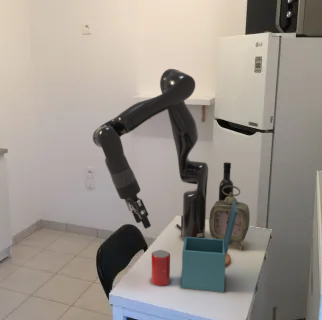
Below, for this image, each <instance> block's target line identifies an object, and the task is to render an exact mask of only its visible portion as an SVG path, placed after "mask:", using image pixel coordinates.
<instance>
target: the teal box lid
mask: <svg viewBox="0 0 322 320" xmlns="http://www.w3.org/2000/svg"><path fill="white" fill-rule="evenodd" d="M236 200H237V199H236ZM236 200H233V203H232V208H231V212H230V216H229V220H228V224H227V228H226V232H225V236H224V251H225V253H226V254H228V253H229V247H230V244H231V243H230V240H231V236H232V232H233V228H234V224H235V220H236V216H237V206H236Z"/></svg>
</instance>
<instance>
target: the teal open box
mask: <svg viewBox="0 0 322 320" xmlns="http://www.w3.org/2000/svg"><path fill="white" fill-rule="evenodd" d="M181 252H182V253H181V254H182V255H181V257H182V258H181V265H182V266H181V289H192V290H198V291H199V290H200V291H209V292H218V293H219V292H221V293H225V281H226V279H225V277H226V258H227V257H226V255H227V253H225V251H224V240H222V239H216V238H208V237H207V238H206V237H205V238H196V237H185V239H184V240H183V245H182V251H181Z"/></svg>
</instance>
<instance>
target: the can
mask: <svg viewBox="0 0 322 320" xmlns="http://www.w3.org/2000/svg"><path fill="white" fill-rule="evenodd" d="M151 283H152V285H155V286H159V287H164V286H167V285H169V284H170V283H171V253H170V252H168V251H167V250H164V249H157V250H153V251H152V253H151Z"/></svg>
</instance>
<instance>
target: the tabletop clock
mask: <svg viewBox="0 0 322 320" xmlns="http://www.w3.org/2000/svg"><path fill="white" fill-rule="evenodd" d="M226 187H233V189H236V190H238V192H237V193H236V194H235V193H233V194H232V192H230V194H227V193H225V192H223V189H224V188H226ZM223 189H222V192H223V193H224V194H225V195H227V196H228V197H226V198H225V200H220V201H219V200H215V203H214V204H213V206H212V207H211V209H210V212H209V219H208V225H209V228H208V229H209V233H210V236H211V237H212V238H213V239H222V240H224V236H225V232H226V228H227V224H228V220H229V216H230V212H231V208H232V203H233V200H236V206H237V216H236V220H235V224H234V228H233V232H232V236H231V240H230V244H231V243H238V244H239V246H238V249H239V250H244V246H243V245H242V242H244V241H245V239H246V236H247V235H248V231H249V227H250V220H251V217H250V216H251V215H250V214H251V213H250V208H249V205H248V204H247V203H244V202H240V201H238V200H237V198H236V197H238V196H240V194H241V189H240V187H238V186H235V185H233V186H225V187H223ZM232 196H233V197H232Z"/></svg>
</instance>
